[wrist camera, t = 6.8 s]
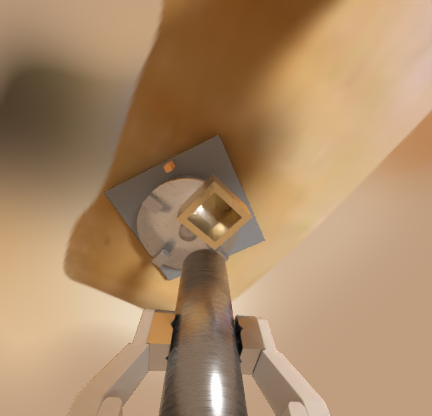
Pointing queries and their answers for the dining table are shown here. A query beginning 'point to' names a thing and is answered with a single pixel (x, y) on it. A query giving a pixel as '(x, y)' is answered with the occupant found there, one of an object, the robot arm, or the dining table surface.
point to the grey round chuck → (190, 219)
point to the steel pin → (203, 344)
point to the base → (181, 165)
